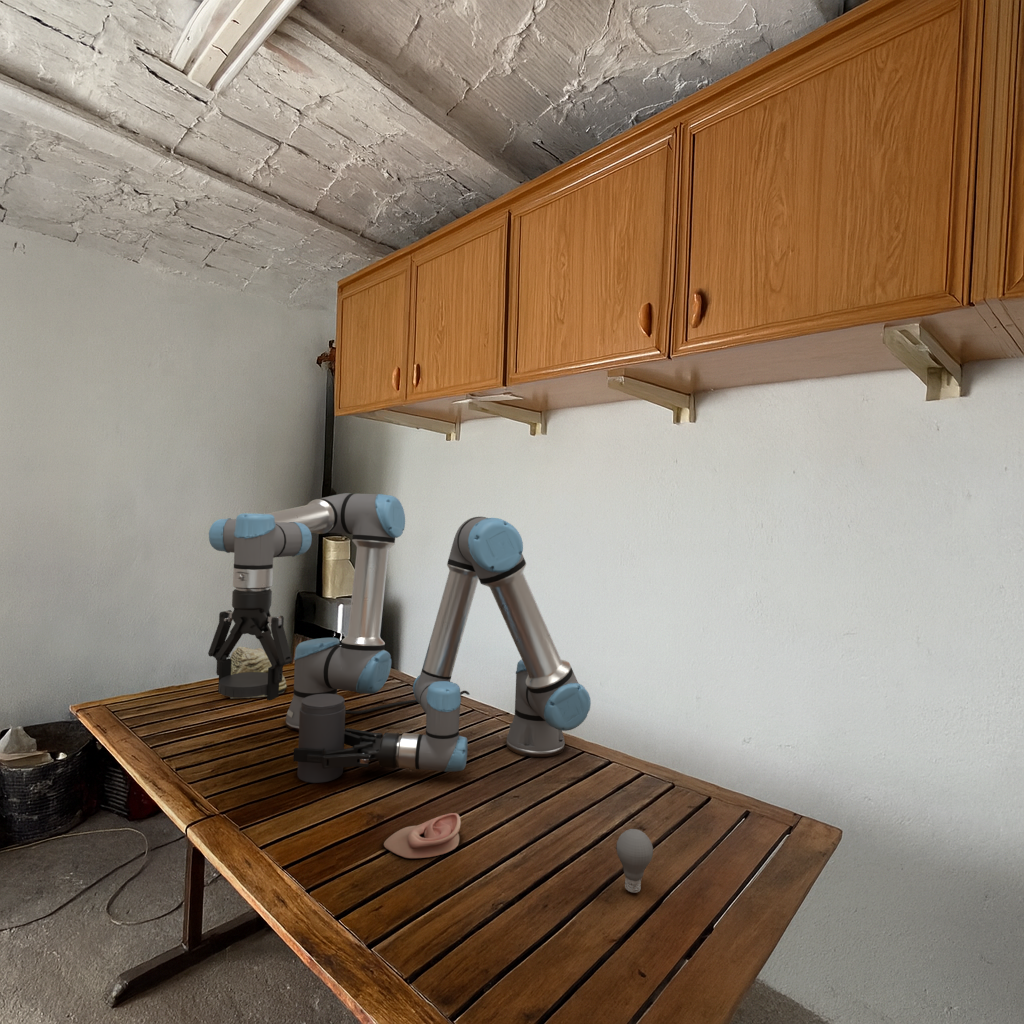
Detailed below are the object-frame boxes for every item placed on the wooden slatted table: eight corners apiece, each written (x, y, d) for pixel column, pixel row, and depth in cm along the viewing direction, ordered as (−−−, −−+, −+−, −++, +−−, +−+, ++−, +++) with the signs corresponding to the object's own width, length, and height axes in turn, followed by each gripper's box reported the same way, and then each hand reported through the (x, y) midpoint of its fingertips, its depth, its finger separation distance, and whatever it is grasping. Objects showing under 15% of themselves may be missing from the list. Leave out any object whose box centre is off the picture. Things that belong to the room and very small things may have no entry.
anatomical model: (377, 831, 113) (401, 802, 124) (376, 853, 113) (400, 822, 124) (448, 842, 110) (466, 811, 122) (447, 865, 111) (465, 832, 122)
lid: (286, 683, 136) (286, 673, 136) (263, 699, 124) (263, 688, 124) (235, 680, 136) (235, 670, 136) (207, 695, 125) (208, 685, 125)
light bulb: (610, 879, 108) (613, 822, 108) (644, 879, 109) (647, 822, 109) (619, 902, 102) (622, 840, 102) (655, 901, 103) (658, 840, 103)
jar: (351, 773, 146) (354, 700, 145) (312, 787, 138) (315, 710, 138) (327, 760, 152) (329, 690, 152) (288, 772, 145) (291, 699, 144)
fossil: (218, 695, 195) (220, 647, 195) (278, 685, 208) (279, 640, 207) (228, 703, 189) (230, 653, 188) (289, 692, 201) (290, 645, 201)
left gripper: (191, 586, 130) (187, 692, 130) (291, 595, 123) (286, 707, 124) (217, 582, 137) (213, 683, 137) (313, 591, 130) (308, 696, 131)
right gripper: (387, 789, 133) (282, 783, 134) (408, 747, 156) (318, 742, 156) (388, 754, 133) (284, 748, 134) (409, 717, 156) (320, 712, 156)
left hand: (248, 694), depth 130 cm, fingers closed on lid, 11 cm apart
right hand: (302, 745), depth 145 cm, fingers closed on jar, 10 cm apart
